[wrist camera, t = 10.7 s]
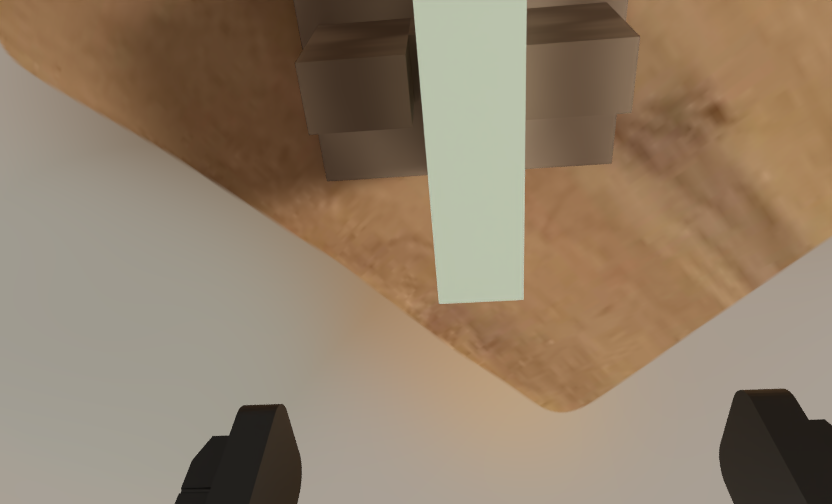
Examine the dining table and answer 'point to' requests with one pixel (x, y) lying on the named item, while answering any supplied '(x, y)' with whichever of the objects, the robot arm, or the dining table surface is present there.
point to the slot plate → (401, 96)
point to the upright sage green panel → (475, 143)
